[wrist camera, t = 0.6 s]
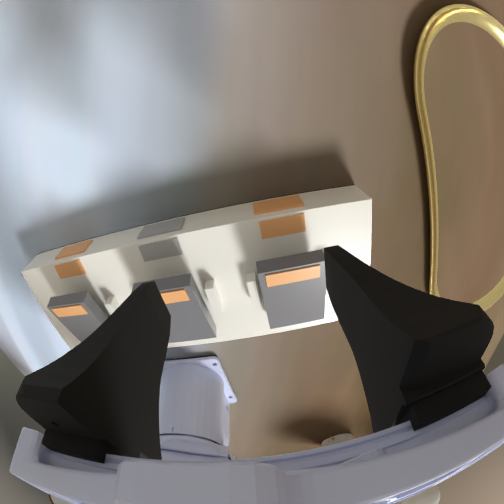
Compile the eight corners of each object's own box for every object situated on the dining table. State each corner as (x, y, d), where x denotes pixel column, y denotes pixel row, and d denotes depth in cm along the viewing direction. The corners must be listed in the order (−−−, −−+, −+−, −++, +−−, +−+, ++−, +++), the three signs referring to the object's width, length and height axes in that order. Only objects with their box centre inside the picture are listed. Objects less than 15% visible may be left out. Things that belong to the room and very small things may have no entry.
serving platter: (418, 335, 30) (424, 344, 28) (371, 1, 13) (381, -4, 11) (515, 281, 27) (521, 287, 26) (508, 17, 10) (518, 17, 9)
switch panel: (355, 291, 25) (370, 321, 21) (83, 332, 26) (70, 359, 22) (354, 183, 20) (378, 202, 16) (36, 252, 21) (14, 277, 17)
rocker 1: (125, 336, 22) (123, 347, 21) (90, 339, 22) (87, 349, 21) (87, 291, 18) (83, 303, 17) (50, 297, 18) (46, 308, 17)
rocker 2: (216, 326, 21) (216, 338, 20) (167, 332, 21) (166, 344, 21) (190, 273, 17) (189, 286, 16) (133, 283, 17) (130, 296, 17)
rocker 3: (321, 307, 21) (324, 319, 20) (268, 318, 21) (270, 330, 20) (322, 249, 17) (326, 261, 16) (255, 261, 17) (257, 274, 16)
